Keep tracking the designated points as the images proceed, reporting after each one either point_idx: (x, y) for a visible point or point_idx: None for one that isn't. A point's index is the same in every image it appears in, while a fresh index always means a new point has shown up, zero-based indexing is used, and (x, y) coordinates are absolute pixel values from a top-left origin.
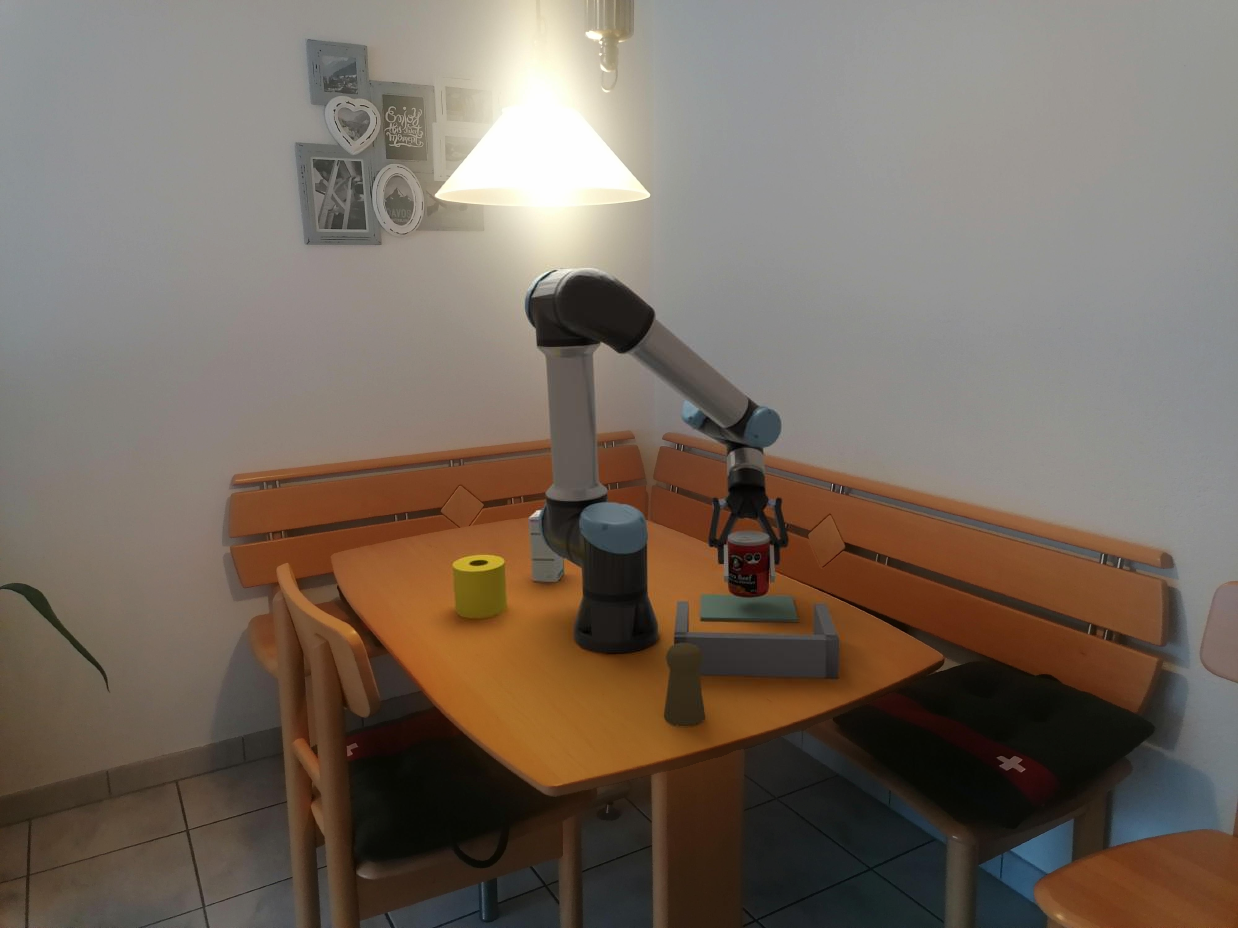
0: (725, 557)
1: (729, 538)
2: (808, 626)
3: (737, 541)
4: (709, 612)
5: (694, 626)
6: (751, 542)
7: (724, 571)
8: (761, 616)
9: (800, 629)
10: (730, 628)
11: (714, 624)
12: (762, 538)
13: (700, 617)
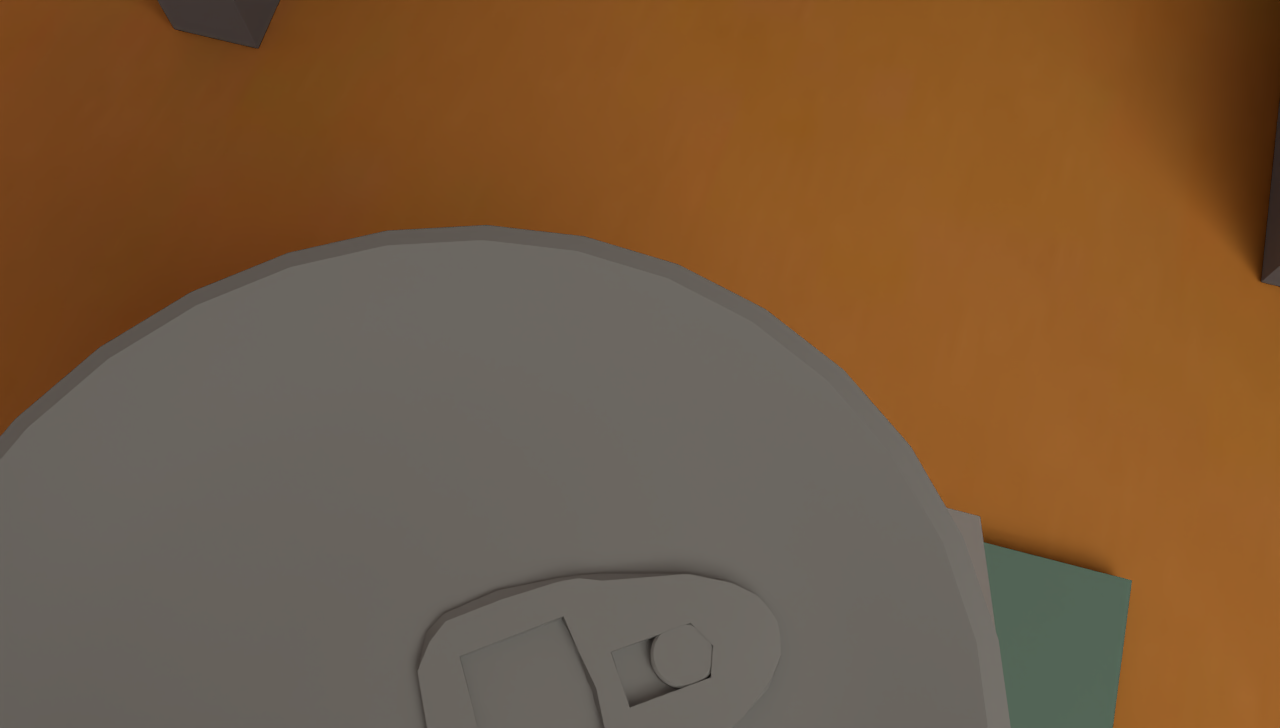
0: None
1: (999, 699)
2: (181, 257)
3: (848, 388)
4: (1016, 690)
5: (1191, 458)
6: (535, 241)
7: (982, 553)
8: None
9: (277, 214)
10: (866, 350)
11: (995, 464)
12: (98, 611)
13: (1128, 582)
